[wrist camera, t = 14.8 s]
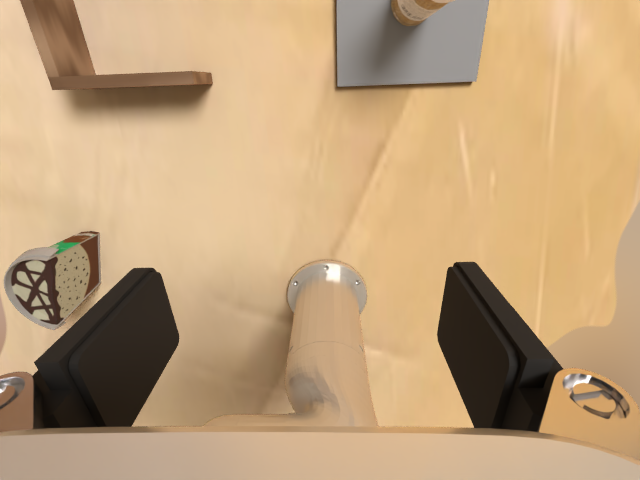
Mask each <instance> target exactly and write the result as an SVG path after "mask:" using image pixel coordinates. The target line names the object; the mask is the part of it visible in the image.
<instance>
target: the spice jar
mask: <svg viewBox="0 0 640 480" xmlns="http://www.w3.org/2000/svg"><path fill="white" fill-rule="evenodd" d="M452 1H455V0H391V7H392V12H393V15H394V17H395V18H396V19H397V21H398V22H400V23H401V24H402V25H406V26H416V25H418V24H420V23H422V22H423V21H424V20H425V19H426V18H428V17H429V16H431V15H432V14H434V13H435V12H437V11H438V10H440V9H441V8H442V7H443V6H445V5H446V4H448V3H449V2H452Z"/></svg>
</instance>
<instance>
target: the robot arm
mask: <svg viewBox="0 0 640 480" xmlns="http://www.w3.org/2000/svg"><path fill="white" fill-rule="evenodd" d="M325 265H327V266H325ZM287 298H288V303H289V306H290V308H291V310H292V312H293V313H294V318H293V325H292V332H291V338H290V345H289V352H288V359H287V365H286V373H285V387H286V392H287V396H288V399H289V401H290V403H291V405H292V407H293V409H294V411H295V412H296V413H289V414H235V415H224V416H219V417H216V418H214V419H211V420H210V421H208V422H207V423H206V424H204V425H203V426H165V427H131V426H132V424H133V423H134V421H135V419H136V417H137V416H138V414H139V412H140V410H141V409H142V407H143V405H144V403H145V402H146V400H147V398H148V396H149V395H150V393H151V391H152V389H153V388H154V386H155V384H156V383H157V381H158V379H159V377H160V376H161V374H162V372H163V370H164V369H165V367H166V365H167V363H168V362H169V360H170V358H171V356H172V355H173V353H174V351H175V349H176V348H177V346H178V343H179V333H178V330H177V327H176V323H175V320H174V316H173V313H172V310H171V306H170V303H169V299H168V296H167V293H166V289H165V286H164V282H163V279H162V276H161V274H160V273H159V272H156V270H155V269H154V268H134V269H132V270H131V271H130V272H129V273H128V274H127V275H126V276H124V277H123V278H122V279H121V280H120V281H119V282H118V283H117V284H116V285H115V286H114V287H113V288H112V289H111V290H110V291H109V292H108V293H107V294H106V295H105V296H103V297H102V298H101V299H100V300H99V301H98V302H97V303H96V304H95V305H94V306H93V307H92V308H91V309H90V310H89V311H88V312H87V313H86V314H85V315H84V316H82V317H81V318H80V319H79V320H78V321H77V322H76V323H75V324H74V325H73V326H72V327H71V328H70V329H69V330H68V331H67V332H66V333H65V334H64V335H63V336H61V337H60V338H59V339H58V340H57V341H56V342H55V343H54V344H53V345H52V346H51V347H50V348H49V349H48V350H47V351H46V352H45V353H44V354H43V355H42V356H40V357H39V358H38V359H37V360H36V361H35V362H34V363H35V365H36V367H37V368H38V371H37V372H36V373H35V374H34V375H33V376H32V375H31V374H29V373H27V372H13V373H8V374H5V375H2V376H0V480H640V412H639V408H638V406H637V404H636V403H635V401H634V400H633V398H632V397H631V396H630V395H629V394H628V393H627V392H626V391H625V390H624V389H623V388H621V387H620V386H618V385H617V384H615V383H614V382H612V381H611V380H609V379H607V378H605V377H603V376H601V375H599V374H597V373H593V372H590V371H588V370H583V369H577V368H569V369H563V368H562V367H561V366H560V364H559V363H558V362H557V361H556V359H555V358H554V357H553V356H552V355H551V353H550V352H549V351H548V350H547V348H546V347H545V346H544V345H543V344H542V342H541V341H540V340H539V339H538V337H537V336H536V335H535V334H534V333H533V331H532V330H531V329H530V328H529V326H528V325H527V324H526V323H525V322H524V320H523V319H522V318H521V317H520V315H519V314H518V313H517V312H516V311H515V309H514V308H513V307H512V306H511V305H510V304H509V303H508V301H507V300H506V299H505V298H504V297H503V295H502V294H501V293H500V292H499V290H498V289H497V288H496V287H495V285H494V284H493V283H492V282H491V281H490V279H489V278H488V277H487V276H486V274H485V273H484V272H483V271H482V270H481V268H480V267H479V266H478V265H477V264H476V263H475V262H456V263H454V265H453V267H449V268H448V270H447V276H446V282H445V289H444V295H443V301H442V307H441V313H440V320H439V326H438V333H437V336H438V342H439V345H440V347H441V350H442V352H443V354H444V357H445V359H446V362H447V364H448V366H449V369H450V371H451V373H452V376H453V378H454V380H455V383H456V385H457V388H458V390H459V392H460V395H461V397H462V399H463V402H464V404H465V406H466V409H467V411H468V414H469V416H470V418H471V421H472V423H473V425H474V428H454V427H379V426H378V423H377V419H376V416H375V412H374V407H373V403H372V398H371V392H370V386H369V379H368V372H367V366H366V358H365V351H364V343H363V336H362V329H361V321H360V314H361V312H362V311H363V309H364V307H365V304H366V300H367V290H366V286H365V283H364V281H363V278H362V277H361V276H360V274H359V273H358V272H357V271H356V270H354V269H353V268H352V267H350V266H348V265H347V264H344V263H341V262H338V261H333V260H322V261H316V262H312V263H309V264H307V265H305V266H304V267H302V268H301V269H299V270H298V271H297V272H296V273H295V274H294V276H293V277H292V279H291V281H290V283H289V287H288V292H287Z"/></svg>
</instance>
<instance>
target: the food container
mask: <svg viewBox="0 0 640 480" xmlns="http://www.w3.org/2000/svg"><path fill="white" fill-rule="evenodd" d="M100 284H101V267H100V233H98V232H92V231H90V232H81V233H79V234H76V235H74V236H72V237H70V238H68V239H65V240H63V241H61V242H59V243H57V244H54V245H52V246H50V247H48V248H47V247H42V248H35V249H31V250H28V251H26V252H24V253H23V254H22V255H21V256H19V257H18V258H17V259H16V260H15V261H14V262H13V263H12V264H11V265H10V267H9V269H8V270H7V272H6V274H5V277H4V288H5V291H6V294H7V296H8V298H9V300H10V301H11V303H12V304H13V305H14V307H15V308H16V309H17V310H18V311H19V312H20V313H21V314H23V315H24V316H25V317H26V318H28V319H29V320H31V321H33V322H34V323H36V324H38V325H40V326H43V327H45V328H48V329H52V330H55V329H56V328H59V327H61V326H62V325H64V324H65V323H66V322H64V320H65V319H66V318H67V317H68V316H69V315H70V314H71V313H72V312H73V311H74V310H75V309H76V308H77V307H78V306H79V305H80V304H81V303H82V302H83V301H84V300H85V299H86V298H87V297H88V296H89V295H90V294H91V293H92V292H93V291H94V290H95V289H96V288H97V287H98V286H99V285H100Z"/></svg>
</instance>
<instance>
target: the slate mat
mask: <svg viewBox="0 0 640 480" xmlns="http://www.w3.org/2000/svg"><path fill="white" fill-rule="evenodd" d="M488 4H489V0H455V1H452V2H449V3H448V4H446V5H445V6H443V7H442V8H441V9H440V10H438V11H437V12H435V13H434V14H432V15H431V16H429V17H428V18H426V19H425V20H424V21H423V22H422V23H420V24H418V25H416V26H406V25H402V24H401V23H400V22H398V21H397V19H396V18H395V17H394V15H393V12H392V7H391V0H336V6H337V87H342V86H368V85H394V84H420V83H446V82H472V81H476V80H477V74H478V67H479V61H480V55H481V48H482V42H483V36H484V30H485V23H486V17H487V11H488Z"/></svg>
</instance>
